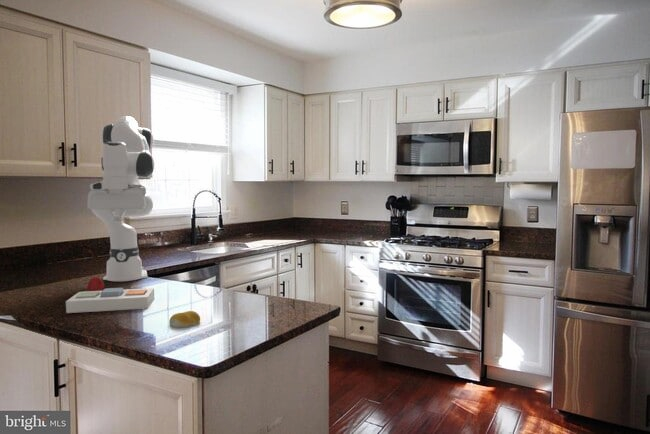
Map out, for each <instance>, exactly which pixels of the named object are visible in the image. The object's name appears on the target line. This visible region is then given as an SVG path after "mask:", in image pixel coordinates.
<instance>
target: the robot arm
mask: <svg viewBox="0 0 650 434" xmlns="http://www.w3.org/2000/svg"><path fill="white" fill-rule="evenodd" d="M101 131H102V132H101V140H102V143H103V147H102V156H101V160H100V161H101V170H102V171H103V175H102V176H103V177H102V180H100V181H96V182H94V183H91V184H90V185H89V190H90V191H89V192H88V194H87V205H86V206H87V209H88V210H90V211H92V213H93V214H94V215H95V216H96V217H97V218H99V219H100V220H101V221H103V223H104V224H105V226H106V227H107V230H108V233H109V240H110V241H109V243H110V249H109V259H108V260H106V275H105V276H103V278H102V281H103V280H104V281H110V282H131V281H136V280H141V279H146V278H147V279H148V272H147V270H145V267H144V266H143V265H142V264H143V263H142V258H140V253H139V251H140V250H139V246H138V234H137V233H138V232H137V230H136V229H135V228H134V227H133V226H131V225H129V224H127V223H125V222H124V220H123V219H124V218H140V217H144V216H148V215H149V214H150V213H151V212H152V211H153V206H154V203H153V200H152V198H151V196H150V195H149V194H147V188H146V187H145V186H144V185H142V184H139V177H141V178H142V177H143V178H148V177H149V176H150V175H152V174H153V173H154V170H155V160H154V158H153V156H152V153H151V150H150V149H151V148H152V145H153V143H154V135H153V134H152V131H151V130H150V129H149V128H146V127H139V124H138V122H137V121H136V120H135V118H134V117H132V116H128V115H122V116H120V117H118V118H117V119H116V121H115V122H114V124H113V123H110V124H107V125H105V126H104V127H103V129H102V130H101Z"/></svg>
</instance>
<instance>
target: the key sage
mask: <svg viewBox="0 0 650 434" xmlns="http://www.w3.org/2000/svg"><path fill="white" fill-rule="evenodd" d="M84 292H85V291H84ZM99 294H100V292H85V293H80V294H79V295H78V296H76V298H94V297H97V296H98V295H99Z"/></svg>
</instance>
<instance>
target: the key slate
mask: <svg viewBox="0 0 650 434" xmlns="http://www.w3.org/2000/svg"><path fill="white" fill-rule="evenodd" d="M123 290H124V287H110V288H109V287H107V288H105V287H104V289H103V291H102V292H101V297H113V296H121V295H122V294H123Z"/></svg>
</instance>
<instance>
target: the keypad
mask: <svg viewBox="0 0 650 434" xmlns="http://www.w3.org/2000/svg"><path fill="white" fill-rule="evenodd" d="M144 289H146V290H147V292H146V293H145V295H132V296H125V294H126V293H127V292H128V291H129V290H144ZM85 292H100V294H99V295H98V296H97V297H94V298H76V296H78V295H79V294H80V293H85ZM101 292H102V291H89V290H85V291H79V292H77V293H75V294H74V295H72V296H71V297H70V298H68V299H67V300H65V309H66V310H65V313H66V314H72V313H74V314H75V313H89V312H106V311H107V312H108V311H109V312H110V311H125V310H127V311H128V310H141V309H142V310H143V309H149V308H150V306H151V305H152V302H153V301H154V300H155V288H154V287H148V288H147V287H146V288H131V289H130V288H125V289H123V294H122V295H121V296H113V297H101Z"/></svg>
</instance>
